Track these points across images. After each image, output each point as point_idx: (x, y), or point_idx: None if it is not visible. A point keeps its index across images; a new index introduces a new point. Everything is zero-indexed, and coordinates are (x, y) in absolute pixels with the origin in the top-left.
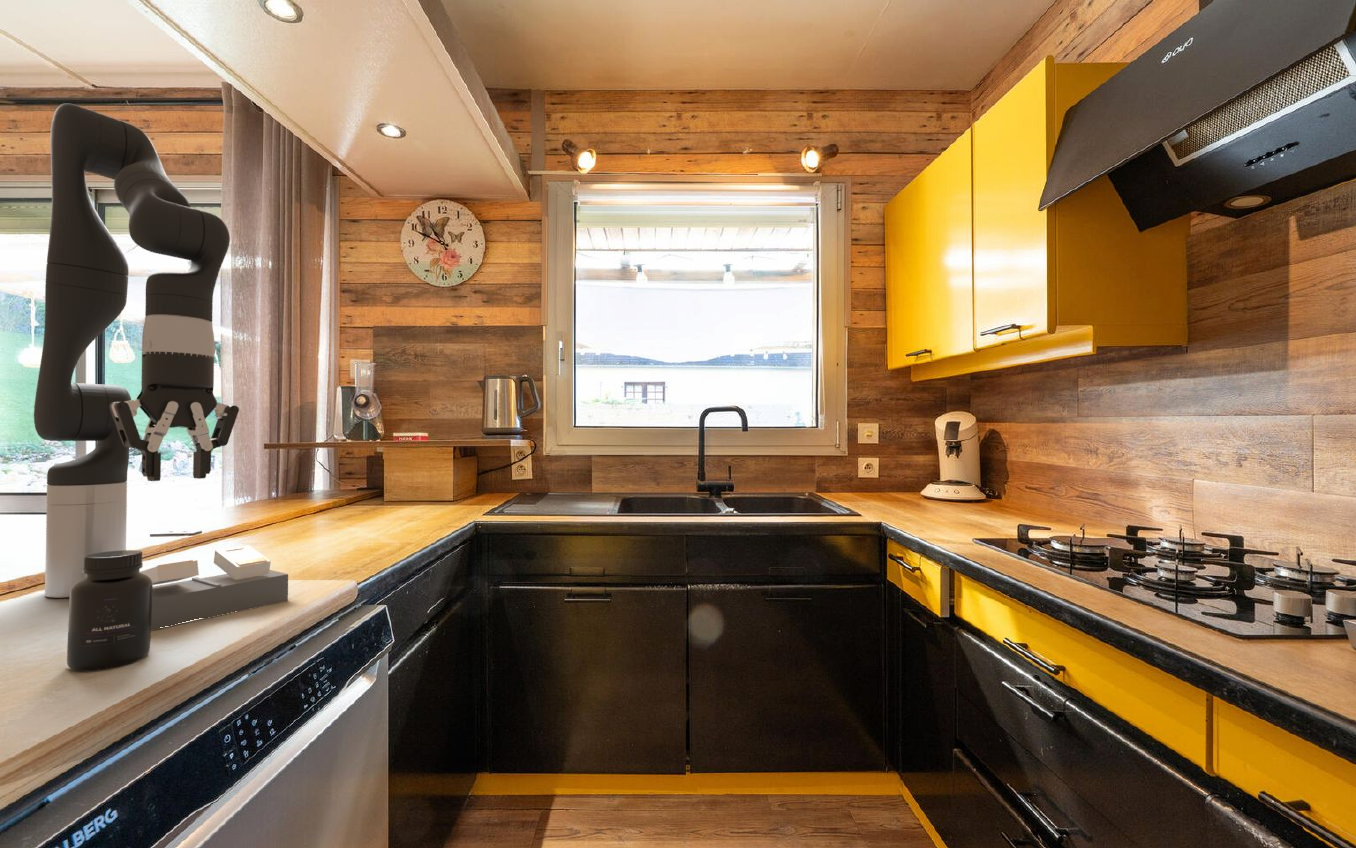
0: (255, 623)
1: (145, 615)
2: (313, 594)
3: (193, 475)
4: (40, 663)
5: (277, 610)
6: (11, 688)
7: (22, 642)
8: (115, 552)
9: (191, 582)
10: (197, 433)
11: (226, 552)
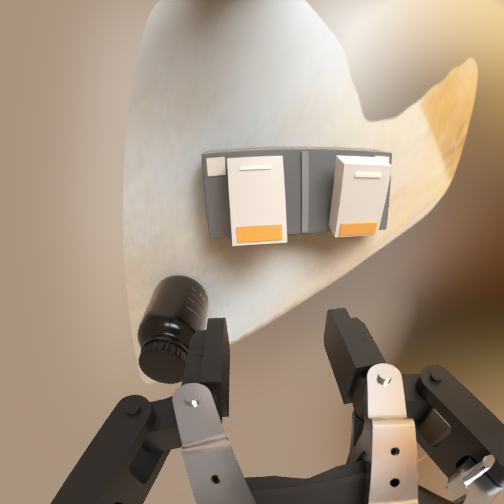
0: (303, 281)
1: None
2: (398, 213)
3: (329, 313)
4: (140, 257)
5: (342, 250)
6: (128, 304)
7: (131, 161)
8: (164, 362)
9: (294, 168)
10: (349, 461)
11: (352, 181)
